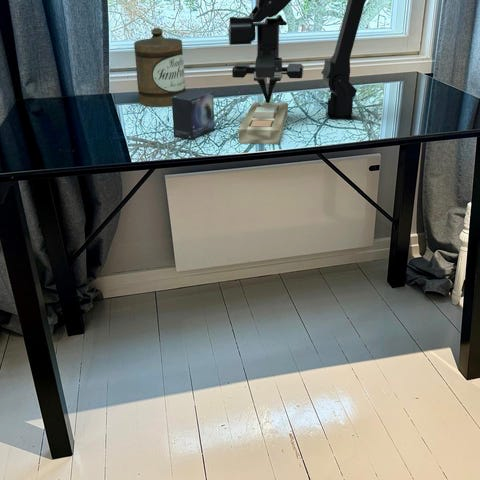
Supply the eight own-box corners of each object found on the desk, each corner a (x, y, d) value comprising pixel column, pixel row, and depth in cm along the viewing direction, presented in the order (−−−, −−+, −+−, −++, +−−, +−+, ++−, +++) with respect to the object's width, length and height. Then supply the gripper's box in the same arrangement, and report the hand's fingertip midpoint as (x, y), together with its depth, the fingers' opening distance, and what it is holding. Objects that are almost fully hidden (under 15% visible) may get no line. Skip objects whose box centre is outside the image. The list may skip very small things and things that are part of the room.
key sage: (278, 114, 159) (278, 105, 157) (276, 119, 154) (276, 110, 153) (260, 113, 159) (260, 105, 158) (258, 118, 155) (258, 109, 154)
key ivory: (275, 116, 151) (275, 107, 150) (273, 121, 147) (273, 112, 146) (257, 116, 152) (256, 106, 151) (254, 121, 148) (254, 111, 147)
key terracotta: (272, 130, 146) (272, 120, 144) (270, 136, 141) (270, 126, 140) (253, 129, 146) (253, 120, 145) (250, 135, 142) (250, 125, 141)
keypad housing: (287, 115, 161) (288, 102, 160) (278, 144, 139) (278, 130, 137) (253, 114, 163) (253, 102, 161) (238, 142, 140) (238, 129, 139)
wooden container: (166, 109, 170) (160, 32, 159) (129, 103, 177) (121, 30, 166) (195, 98, 181) (191, 26, 170) (159, 93, 188) (153, 23, 177)
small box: (192, 140, 143) (190, 99, 138) (172, 136, 146) (169, 96, 141) (216, 129, 151) (214, 90, 146) (196, 126, 154) (194, 87, 149)
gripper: (227, 48, 142) (229, 109, 149) (301, 49, 139) (299, 111, 147) (235, 41, 152) (236, 99, 159) (304, 41, 149) (302, 100, 156)
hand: (267, 102), depth 155 cm, fingers closed
